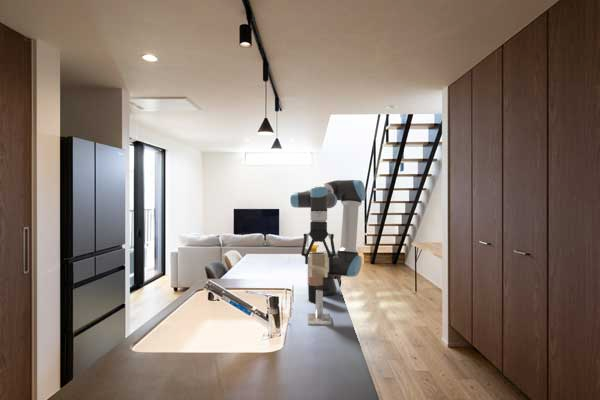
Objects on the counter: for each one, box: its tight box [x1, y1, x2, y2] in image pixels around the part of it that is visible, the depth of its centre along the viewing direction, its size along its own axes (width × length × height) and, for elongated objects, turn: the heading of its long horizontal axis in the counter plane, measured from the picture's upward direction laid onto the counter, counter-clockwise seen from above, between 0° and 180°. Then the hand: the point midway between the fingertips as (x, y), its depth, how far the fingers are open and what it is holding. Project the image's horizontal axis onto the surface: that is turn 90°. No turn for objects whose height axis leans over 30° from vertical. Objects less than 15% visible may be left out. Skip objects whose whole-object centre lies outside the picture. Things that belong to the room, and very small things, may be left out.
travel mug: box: [307, 271, 323, 304], centre depth 190 cm, size 8×8×20 cm
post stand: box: [307, 290, 333, 326], centre depth 158 cm, size 10×10×13 cm
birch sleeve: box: [308, 251, 328, 277], centre depth 165 cm, size 8×8×10 cm
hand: (318, 271), depth 165 cm, fingers closed on birch sleeve, 8 cm apart
